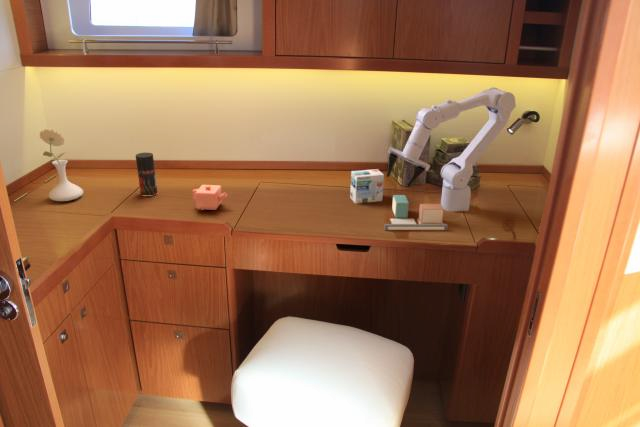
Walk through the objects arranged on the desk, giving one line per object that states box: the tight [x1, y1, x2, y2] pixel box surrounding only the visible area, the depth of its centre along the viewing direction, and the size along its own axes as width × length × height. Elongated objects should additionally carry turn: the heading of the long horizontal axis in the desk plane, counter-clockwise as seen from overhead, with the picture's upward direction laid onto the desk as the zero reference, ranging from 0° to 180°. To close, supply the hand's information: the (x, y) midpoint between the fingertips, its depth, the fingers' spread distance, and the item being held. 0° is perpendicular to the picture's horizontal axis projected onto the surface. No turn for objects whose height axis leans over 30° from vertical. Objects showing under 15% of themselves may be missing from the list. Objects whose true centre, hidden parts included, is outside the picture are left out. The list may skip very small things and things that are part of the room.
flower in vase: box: [39, 129, 84, 202], centre depth 182 cm, size 13×11×25 cm
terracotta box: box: [417, 203, 445, 224], centre depth 169 cm, size 7×4×6 cm, turn 92°
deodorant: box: [135, 152, 158, 196], centre depth 188 cm, size 6×6×15 cm
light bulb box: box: [349, 168, 385, 205], centre depth 186 cm, size 11×7×11 cm, turn 105°
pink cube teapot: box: [191, 184, 228, 211], centre depth 179 cm, size 8×12×8 cm, turn 85°
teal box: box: [391, 194, 410, 219], centre depth 175 cm, size 7×4×6 cm, turn 2°
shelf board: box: [383, 218, 449, 231], centre depth 172 cm, size 20×17×2 cm
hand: (398, 181), depth 172 cm, fingers open, 7 cm apart
